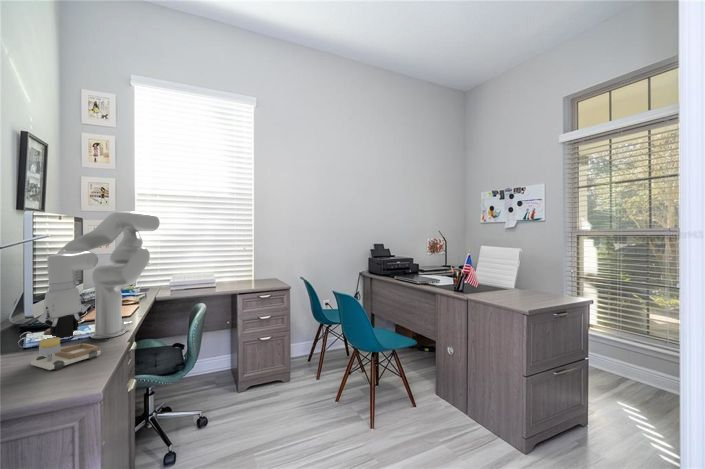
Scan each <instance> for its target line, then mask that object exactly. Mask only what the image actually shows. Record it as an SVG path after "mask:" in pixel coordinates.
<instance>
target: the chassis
mask: <svg viewBox="0 0 705 469" xmlns="http://www.w3.org/2000/svg"><path fill="white" fill-rule="evenodd" d="M101 351H102V350H100V345H94V344H89V343H79V344H74V345H70V346H67V347H63V348H61V352H58V353H54V354H51V355H47V356H44V355H40V356H38V357H36V359H33V360H31V361H30V365H31V366H35V367H38V368H41V369H45V370H48V371H51V370H57V371H59V370H61V369H62V368H64V367H65V366H67V365H71V364H74V363H76V362H80V361H82V360H86V359H90V360H93V359H95V358H96V357H97V356H99V355H101V354H102V352H101Z"/></svg>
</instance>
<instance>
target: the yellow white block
mask: <svg viewBox="0 0 705 469" xmlns="http://www.w3.org/2000/svg"><path fill="white" fill-rule="evenodd" d="M61 345H62V344H61V340H60V338H59V337H53V338H47V339H44V338H43V339H41V340H39V346H38V355H40V356H45V357H47V355H51V354H52V355H55V353H58V352H61V349H62V348H61Z"/></svg>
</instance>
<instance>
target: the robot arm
mask: <svg viewBox="0 0 705 469" xmlns="http://www.w3.org/2000/svg"><path fill="white" fill-rule="evenodd" d="M160 222H161V221H160V219H159V217H158V216H157V215H155V214H153V213H145V212H139V211H124V210H123V211H120V210H119V211H113V212H111V213H109V214H108V215H107V216H106V217H105V218H104V219H103V220H102V221H101V222H100V223H99V224H98V225H97V226H96V227H95V228H94V229H93V230H91V231H89V232H87V233H85V234H82V235H80V236H78V237H75V238H74V239H72V240H71V241H69V242H68V243H66V244H65V245H64V246H62V248H61V249H59V251H58V252H57V253H55V254H54V253H53V254H51V255H48V256H47V262H46V263H47V278H48V280H47V281H48V291H45V296H44V301H43V313H41V314H40V316H39V317H38V318H37V321H39V322H41V323H44V324H46V325H48V326H49V329H50V334H51V335H52V336H58V335H59V332H58V326H57V325H56V324H57V321H58V318H59V317H63V316H67V315H73V330H74V331H75V332H76V331H78V330H79V329H78V328H79V321H80V318H81V317H82V316H83V314H84V313H85V312H86V311H88V308H87V307H86V306H85V305H84V304H82V300H81V295H80V291H79V288H78V287H77V285H79V284H80V281H79V280H76V271H86V270H90V269H93V268H94V267H95V268H94V269H93V271H92V281H93V284H94V285H93V286H94V293H95V296H94V299H95V300H94V303H95V304H94V307H95V308H94V332H95V334H92V335H90V338H91V339H98V340H99V339H109V338H115V337H119V336H121V335H123V334H125V333H126V331H127V330H126V327H129V326H132V325H133V321H131V320H130V321H123V320H122V319H123V318H122V317H123V316H122V315H123V312H122V310H123V300H122V299H123V293H122V290H121V288H120V286H131V285H133V284H135V283H136V282H137V281H138V279H139V278H140V276H141V275H142V273H143V272H144V270H145V268H146V267H147V265H148V263H149V261H150V257H151V256H150V251H149V249H148V248H146V247H144V246H143V242H144V241H143V239H142V237H141V235H140V233H139V232H154V231H157V229H158V228H159V227H160V225H161V224H160ZM122 232H123V237H122V239H121V240H120V242H119V243H118V244H117V246H116V247H115V248H114V250H113V251H112V253H111V255H110V256H109V262H110V263H104V264H99V265H98V262H99V257H98V255H97V254H96V253H94V252H92V251H91V250H95V249H98V248H102V247H106V246H109V245H110V244H112V243H113V242H114V241H115V240H116V239H117V238H118V237H119V235H120V234H122ZM47 318H49V319H47Z"/></svg>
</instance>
